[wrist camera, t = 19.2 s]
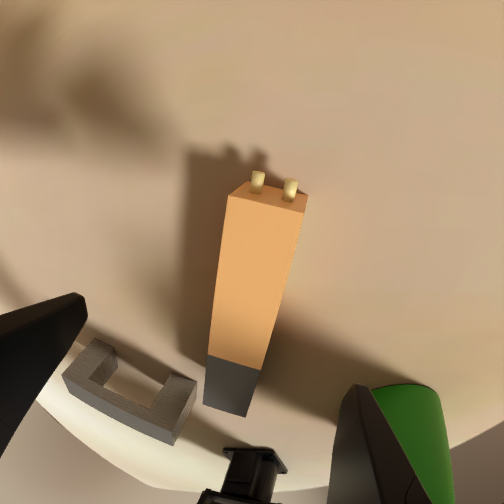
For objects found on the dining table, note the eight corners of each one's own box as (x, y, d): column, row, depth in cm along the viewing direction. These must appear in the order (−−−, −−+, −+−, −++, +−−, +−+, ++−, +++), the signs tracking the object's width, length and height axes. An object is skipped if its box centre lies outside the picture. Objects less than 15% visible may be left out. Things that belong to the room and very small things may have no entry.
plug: (255, 385, 23) (245, 417, 20) (216, 374, 23) (202, 404, 20) (312, 177, 15) (309, 191, 12) (250, 163, 15) (231, 173, 12)
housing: (195, 399, 25) (173, 446, 20) (99, 357, 27) (69, 393, 22) (197, 381, 24) (171, 432, 19) (94, 338, 26) (61, 374, 20)
